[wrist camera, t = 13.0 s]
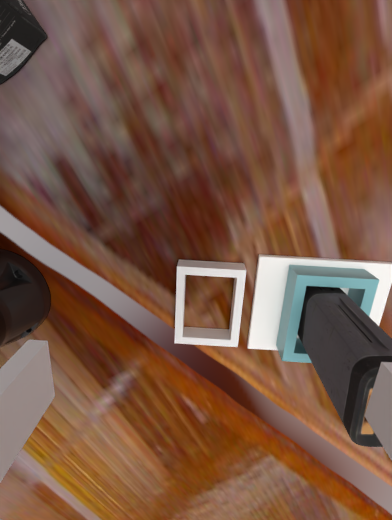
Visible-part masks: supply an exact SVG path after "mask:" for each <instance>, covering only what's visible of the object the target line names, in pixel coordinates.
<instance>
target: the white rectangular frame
mask: <svg viewBox="0 0 392 520" xmlns="http://www.w3.org/2000/svg"><path fill="white" fill-rule="evenodd" d="M186 275H199V276H216V277H233V278H234V287H233V297H232V307H231V316H230V326H229V329H214V328H198V327H184V311H185V287H186ZM245 278H246V268H245V265H244V263H231V262H214V261H196V260H179V261H178V264H177V281H176V313H175V343H181V344H196V345H212V346H228V347H238V339H239V330H240V322H241V313H242V304H243V296H244V287H245Z"/></svg>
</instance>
